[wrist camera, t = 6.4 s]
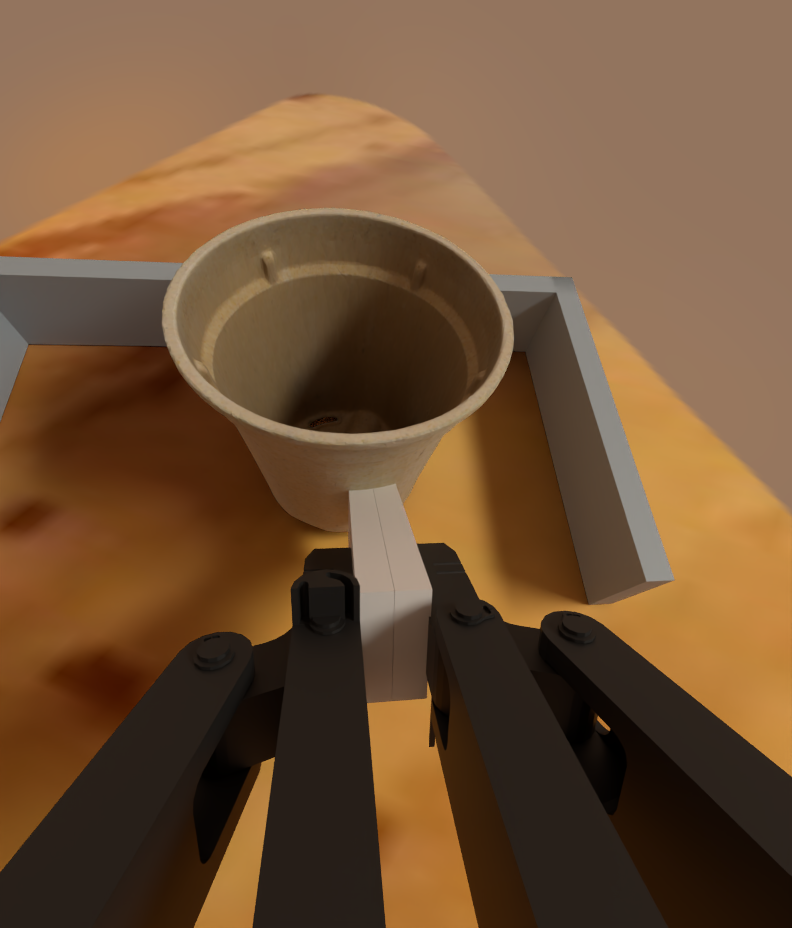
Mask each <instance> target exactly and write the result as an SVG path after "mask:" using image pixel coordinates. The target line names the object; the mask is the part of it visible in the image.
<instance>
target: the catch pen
mask: <svg viewBox="0 0 792 928" xmlns="http://www.w3.org/2000/svg"><path fill="white" fill-rule="evenodd" d="M182 264H183V263H163V262H135V261H108V260H80V259H53V258H26V257H0V421H1V418H2V415H3V413H4V410H5V407H6V404H7V402H8V399H9V396H10V393H11V391H12V388H13V385H14V382H15V380H16V377H17V374H18V371H19V369H20V366H21V363H22V360H23V358H24V355H25V352H26V350H27V347H28V344H53V345H119V346H167V344H166V342H165V337H164V332H163V328H162V309H163V301H164V297H165V295H166V292H167V288H168V286H169V284H170V282H171V280H172V279H173V277H174V276H175V274H176V271H177V270H178V269H179V268H180V267H181V265H182ZM489 275H490V276H491V278H492V279H493V280H494V282H495V283H496V285H497V286H498V288H499V290H500V291H501V292H502V294H503V295H504V298H505V302H506V304H507V305H508V308H509V310H510V313H511V317H512V320H513V333H514V343H513V350H512V351H516V352H526V356H527V360H528V364H529V368H530V372H531V376H532V380H533V384H534V388H535V392H536V396H537V400H538V404H539V408H540V412H541V416H542V420H543V424H544V428H545V432H546V436H547V440H548V444H549V448H550V452H551V456H552V460H553V464H554V468H555V472H556V476H557V480H558V484H559V488H560V492H561V496H562V500H563V504H564V508H565V512H566V516H567V520H568V524H569V528H570V532H571V536H572V540H573V544H574V548H575V552H576V556H577V560H578V564H579V568H580V572H581V576H582V580H583V584H584V588H585V592H586V596H587V600H588V603H589V605H593V604H611V603H615V602H617V601H620V600H623V599H625V598H628V597H631V596H633V595H636V594H639V593H641V592H644V591H647V590H650V589H652V588H655V587H658V586H660V585H663V584H666V583H668V582H671V581H674V577H673V574H672V571H671V568H670V565H669V562H668V559H667V556H666V553H665V550H664V547H663V544H662V541H661V538H660V535H659V533H658V530H657V527H656V524H655V521H654V518H653V515H652V512H651V509H650V506H649V503H648V500H647V497H646V494H645V491H644V488H643V485H642V482H641V479H640V476H639V474H638V471H637V468H636V465H635V462H634V459H633V456H632V453H631V450H630V447H629V444H628V441H627V438H626V435H625V432H624V429H623V426H622V423H621V420H620V417H619V415H618V412H617V409H616V406H615V403H614V400H613V397H612V394H611V391H610V388H609V385H608V382H607V379H606V376H605V373H604V370H603V367H602V364H601V361H600V358H599V356H598V353H597V350H596V347H595V344H594V341H593V338H592V335H591V332H590V329H589V326H588V323H587V320H586V317H585V314H584V311H583V308H582V305H581V302H580V299H579V297H578V294H577V291H576V288H575V285H574V282H573V279H572V277H547V276H519V275H492V274H489Z"/></svg>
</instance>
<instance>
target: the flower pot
mask: <svg viewBox="0 0 792 928" xmlns="http://www.w3.org/2000/svg"><path fill="white" fill-rule="evenodd" d="M162 328H163V332H164V337H165V342H166V344H167V347H168V350H169V352H170V355H171V357H172V359H173V361H174V363H175V365H176V367H177V369H178V371H179V373H180V374H181V375H182V377H183V378H184V379H185V381H186V382H187V383H188V384H189V385H190V387H191V388H192V389H193V390H194V391H195V392H196V393H197V394H198V395H199V396H200V397H201V398H202V399H203V400H204V401H205V402H206V403H208V404H209V405H210V406H211V407H212V408H214V409H215V410H216V411H218V412H219V413H221V414H222V415H224V416H225V417H226V418H227V419H228V420H229V421H231V422H232V423H233V424H234V425H235V426H236V427H237V429H238V431H239V433H240V434H241V436H242V438H243V440H244V441H245V443H246V445H247V447H248V448H249V450H250V452H251V454H252V456H253V457H254V459H255V461H256V463H257V465H258V467H259V468H260V470H261V472H262V474H263V476H264V478H265V480H266V481H267V483H268V485H269V487H270V489H271V492H272V494H273V495H274V497H275V499H276V500H277V502H278V503H279V504H280V505H281V507H282V508H283V509H284V510H285V511H286V512H287V513H289V514H290V515H291V516H293V517H295V518H297V519H299V520H301V521H303V522H305V523H308V524H310V525H312V526H315V527H317V528H320V529H323V530H326V531H331V532H347V531H348V498H349V491H352V490H366V489H373V488H380V487H384V486H389V485H393V484H396V486H397V489H398V492H399V495H400V498H401V501H402V504H403V503H404V502H405V500H406V499H407V497H408V496H409V494H410V493H411V491H412V489H413V486H414V484H415V482H416V480H417V478H418V477H419V475H420V473H421V472H422V470H423V468H424V466H425V465H426V463H427V461H428V460H429V458H430V457H431V455H432V453H433V452H434V450H435V448H436V447H437V445H438V443H439V442H440V440H441V438H442V437H443V435H445V434H446V433H447V432H449V431H450V430H451V429H452V428H453V427H454V426H455V425H456V424H458V423H459V422H461V421H463V420H464V419H466V418H467V417H468V416H470V415H471V414H473V413H474V412H475V411H476V410H477V409H479V408H480V407H481V406H482V405H483V404H484V403H485V402H486V400H487V399H488V398H489V397H490V396H491V395H492V393H493V392H494V390H495V389H496V388H497V386H498V384H499V383H500V381H501V379H502V377H503V376H504V374H505V372H506V369H507V367H508V364H509V362H510V359H511V355H512V350H513V343H514V333H513V320H512V317H511V313H510V310H509V308H508V305H507V304H506V302H505V298H504V295H503V294H502V292H501V291H500V290H499V288H498V286H497V285H496V283H495V282H494V280H493V279H492V278H491V276H490V275H489V274H488V273H487V272H486V271H485V270H484V269H483V268H482V266H481V265H479V264H478V263H477V262H476V261H475V260H474V259H473V258H472V257H471V256H469V255H468V254H467V253H466V252H464V251H463V250H462V249H461V248H459V247H458V246H457V245H455V244H453V243H452V242H450V241H449V240H448V239H446V238H444V237H443V236H440V235H438V234H436V233H434V232H432V231H430V230H427V229H425V228H423V227H421V226H418V225H416V224H413V223H410V222H408V221H404V220H402V219H399V218H395V217H391V216H386V215H382V214H377V213H374V212H369V211H361V210H353V209H343V208H319V209H305V208H304V209H299V210H293V211H287V212H281V213H275V214H272V215H268V216H264V217H259V218H257V219H253V220H250V221H247V222H245V223H242V224H239V225H237V226H234V227H233V228H230V229H228V230H226V231H224V232H223V233H221V234H219V235H217V236H216V237H214V238H213V239H211V240H209V241H208V242H207V243H205V244H204V245H203V246H202V247H200V248H198V249H197V250H196V251H195V252H193V254H192V255H191V256H190V257H189V258H188V259H187V260H186V261H185V262H184V263H183V264H182V265H181V267H180V268H179V269H178V270H177V271H176V274H175V276H174V277H173V279H172V280H171V282H170V284H169V286H168V288H167V292H166V295H165V297H164V301H163V309H162ZM324 417H333V418H336V419H337V420H336V421H332V422H328V423H324V424H320V425H317V426H315V427H310V426H309V424H311V423H312V422H314V421H315V420H317V419H321V418H324Z"/></svg>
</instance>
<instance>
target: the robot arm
mask: <svg viewBox="0 0 792 928" xmlns="http://www.w3.org/2000/svg"><path fill="white" fill-rule="evenodd" d="M348 539H349V548H328V549H314V550H313V551H312V552H311V553H310V554H309V555H308V556H307V557H306V559H305V565H304V572H303V575H302V576H301V577H300V578H298V579H297V580H296V581H294V583H293V585H292V587H291V604H292V623H293V626H292V628H291V629H290V630H289V631H288V632H287V633H285V634H284V635H282V636H280V637H279V638H277V639H274V640H272V641H269V642H266V643H263V644H259V645H256V646H252V645H251V642H250V640H249V639H247V638H246V637H245V636H243V635H241V634H237V633H234V632H216V633H213V634H209V635H205V636H202V637H200V638H198V639H196V640H194V641H192V642H190V643H189V644H188V645H187V646H185V647H184V648H183V649H182V650H181V651H180V652H179V653H178V654H177V655H176V657H175V658H174V659H173V660H172V662H171V663H170V664H169V665H168V667H167V668H166V669H165V670H164V671H163V673H162V674H161V675H160V676H159V678H158V679H157V680H156V681H155V683H154V684H153V685H152V686H151V687H150V689H149V690H148V691H147V692H146V694H145V695H144V696H143V697H142V699H141V700H140V701H139V702H138V703H137V705H136V706H135V707H134V708H133V710H132V711H131V712H130V713H129V715H128V716H127V717H126V718H125V720H124V721H123V722H122V723H121V724H120V726H119V727H118V728H117V729H116V731H115V732H114V733H113V734H112V736H111V737H110V738H109V739H108V740H107V742H106V743H105V744H104V745H103V747H102V748H101V749H100V750H99V752H98V753H97V754H96V755H95V756H94V758H93V759H92V760H91V761H90V763H89V764H88V765H87V766H86V768H85V769H84V770H83V771H82V772H81V774H80V775H79V776H78V777H77V779H76V780H75V781H74V782H73V784H72V785H71V786H70V787H69V788H68V790H67V791H66V792H65V793H64V795H63V796H62V797H61V798H60V800H59V801H58V802H57V803H56V804H55V806H54V807H53V808H52V809H51V811H50V812H49V813H48V814H47V816H46V817H45V818H44V819H43V821H42V822H41V823H40V824H39V825H38V827H37V828H36V829H35V830H34V832H33V833H32V834H31V835H30V837H29V838H28V839H27V840H26V841H25V843H24V844H23V845H22V846H21V848H20V849H19V850H18V851H17V853H16V854H15V855H14V856H13V857H12V859H11V860H10V861H9V862H8V864H7V865H6V866H5V867H4V869H3V870H2V871H1V872H0V928H194V925H195V923H196V921H197V918H198V916H199V914H200V911H201V909H202V906H203V904H204V902H205V899H206V897H207V895H208V892H209V890H210V887H211V885H212V883H213V880H214V878H215V876H216V873H217V871H218V869H219V866H220V864H221V861H222V859H223V857H224V854H225V852H226V850H227V847H228V845H229V843H230V840H231V838H232V835H233V833H234V831H235V828H236V826H237V824H238V821H239V819H240V817H241V814H242V812H243V809H244V807H245V805H246V802H247V800H248V798H249V795H250V793H251V791H252V788H253V786H254V783H255V781H256V779H257V776H258V774H259V772H260V767H261V762H263V761H266V760H268V759H271V758H273V757H275V762H274V769H273V777H272V784H271V792H270V800H269V807H268V815H267V822H266V830H265V837H264V845H263V852H262V860H261V867H260V875H259V882H258V890H257V898H256V905H255V913H254V920H253V928H386V925H385V913H384V901H383V889H382V878H381V866H380V854H379V842H378V830H377V818H376V806H375V794H374V782H373V770H372V759H371V747H370V735H369V723H368V711H367V703H373V702H386V701H399V700H412V699H425V698H427V680H428V684H429V688H430V692H431V696H432V699H431V716H430V733H429V747H434V745H435V739H436V743H437V748H438V752H439V756H440V761H441V765H442V769H443V774H444V778H445V783H446V787H447V791H448V796H449V800H450V804H451V809H452V813H453V818H454V822H455V826H456V831H457V835H458V839H459V844H460V848H461V853H462V857H463V861H464V866H465V870H466V874H467V879H468V883H469V888H470V892H471V896H472V901H473V905H474V909H475V914H476V918H477V923H478V927H479V928H792V777H791V776H790V775H789V774H787V773H786V772H785V771H784V770H782V769H781V768H780V767H779V766H777V765H776V764H775V763H774V762H772V761H771V760H770V759H769V758H768V757H766V756H765V755H764V754H763V753H761V752H760V751H759V750H758V749H756V748H755V747H754V746H753V745H751V744H750V743H749V742H748V741H746V740H745V739H744V738H743V737H741V736H740V735H739V734H738V733H737V732H735V731H734V730H733V729H732V728H730V727H729V726H728V725H727V724H725V723H724V722H723V721H722V720H720V719H719V718H718V717H717V716H715V715H714V714H713V713H712V712H710V711H709V710H708V709H707V708H706V707H704V706H703V705H702V704H701V703H699V702H698V701H697V700H696V699H694V698H693V697H692V696H691V695H689V694H688V693H687V692H686V691H684V690H683V689H682V688H681V687H680V686H678V685H677V684H676V683H675V682H673V681H672V680H671V679H670V678H668V677H667V676H666V675H665V674H663V673H662V672H661V671H660V670H658V669H657V668H656V667H655V666H653V665H652V664H651V663H650V662H649V661H647V660H646V659H645V658H644V657H642V656H641V655H640V654H639V653H637V652H636V651H635V650H634V649H632V648H631V647H630V646H629V645H627V644H626V643H625V642H624V641H622V640H621V639H620V638H619V637H618V636H616V635H615V634H614V633H613V632H611V631H610V630H609V629H608V628H606V627H605V626H604V625H603V624H601V623H599V622H598V621H596V620H595V619H593V618H591V617H589V616H586V615H583V614H581V613H577V612H571V611H557V612H552V613H550V614H548V615H546V616H545V617H544V619H543V620H542V621H541V627H540V629H536V628H530V627H524V626H518V625H514V624H509V623H507V622H504V621H503V619H502V617H501V615H500V613H499V612H498V611H497V610H496V609H495V608H494V606H492V605H490V604H489V603H487V602H485V601H483V600H480V599H479V598H478V596H477V594H476V592H475V590H474V588H473V586H472V584H471V582H470V580H469V578H468V576H467V574H466V573H465V570H464V568H463V566H462V564H461V562H460V560H459V558H458V556H457V554H456V552H455V551H454V550H453V549H451V548H450V547H448V546H447V545H446V544H444V543H428V544H416V541H415V538H414V535H413V532H412V529H411V526H410V524H409V521H408V518H407V515H406V512H405V509H404V506H403V504H402V501H401V498H400V495H399V492H398V489H397V486H396V484H393V485H389V486H384V487H380V488H373V489H366V490H352V491H349V498H348ZM598 716H599V717H600V718H601V719H602V720H603V721H604V722H605V723H606V724H607V725H608V726H609V727H610V728H611V729H610V731H608V730H607V729H606V728H604V727H603V726H602V725H601V724H600V723H599V722H598V721H597V717H598Z"/></svg>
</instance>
